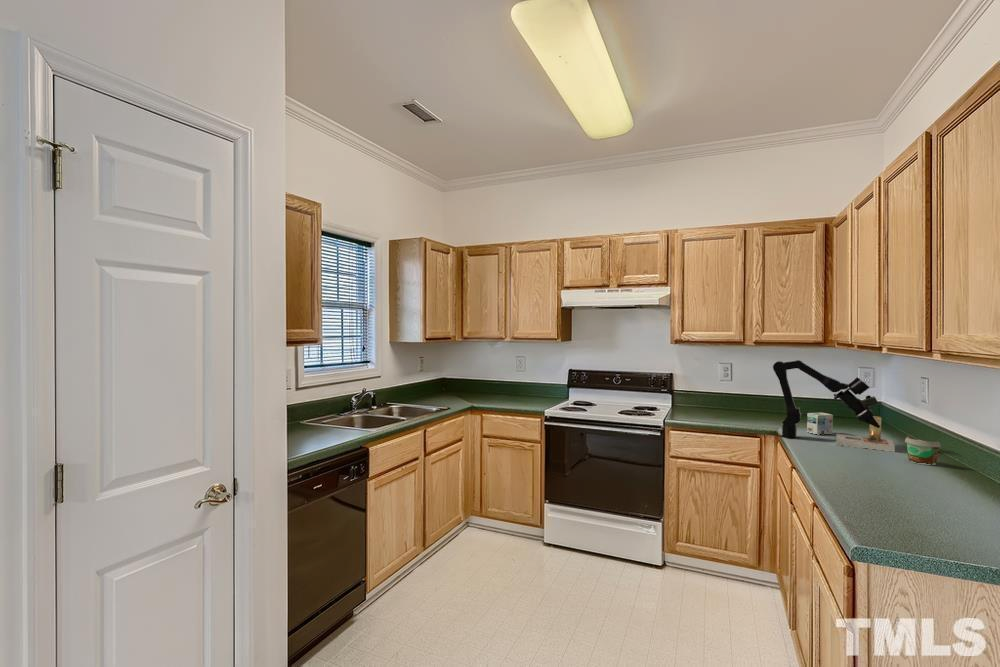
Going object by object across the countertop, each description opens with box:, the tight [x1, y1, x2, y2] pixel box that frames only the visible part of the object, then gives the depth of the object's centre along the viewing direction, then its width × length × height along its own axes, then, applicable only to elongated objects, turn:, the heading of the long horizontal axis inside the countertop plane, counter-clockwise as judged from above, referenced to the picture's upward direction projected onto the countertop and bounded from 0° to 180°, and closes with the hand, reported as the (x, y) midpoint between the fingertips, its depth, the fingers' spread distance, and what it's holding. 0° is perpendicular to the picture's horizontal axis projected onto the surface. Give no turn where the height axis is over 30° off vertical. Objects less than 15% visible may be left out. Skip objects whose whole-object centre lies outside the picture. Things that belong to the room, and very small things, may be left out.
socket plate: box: [835, 433, 896, 453], centre depth 240 cm, size 22×14×3 cm, turn 57°
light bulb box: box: [806, 412, 834, 436], centre depth 266 cm, size 11×7×11 cm, turn 105°
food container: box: [904, 435, 942, 464], centre depth 210 cm, size 12×6×10 cm, turn 21°
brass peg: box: [868, 415, 882, 441], centre depth 237 cm, size 4×4×11 cm
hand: (878, 426), depth 236 cm, fingers closed on brass peg, 4 cm apart
